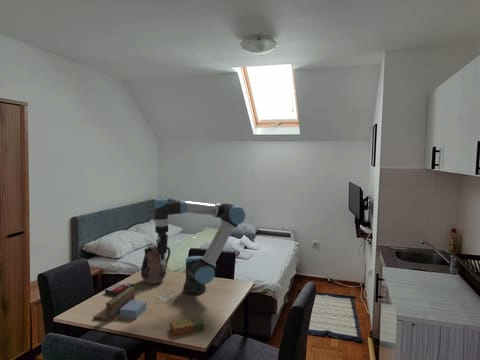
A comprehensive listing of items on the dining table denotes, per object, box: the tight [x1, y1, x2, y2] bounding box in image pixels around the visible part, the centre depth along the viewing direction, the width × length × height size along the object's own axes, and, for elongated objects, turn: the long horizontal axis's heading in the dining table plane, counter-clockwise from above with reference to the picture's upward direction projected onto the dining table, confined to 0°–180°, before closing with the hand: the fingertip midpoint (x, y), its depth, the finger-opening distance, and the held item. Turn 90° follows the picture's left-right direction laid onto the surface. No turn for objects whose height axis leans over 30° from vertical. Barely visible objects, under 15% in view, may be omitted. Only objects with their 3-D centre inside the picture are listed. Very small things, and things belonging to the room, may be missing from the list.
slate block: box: [119, 300, 147, 320], centre depth 187 cm, size 10×12×5 cm
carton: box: [169, 316, 205, 338], centre depth 169 cm, size 8×16×4 cm, turn 114°
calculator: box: [104, 281, 135, 297], centre depth 218 cm, size 11×4×15 cm
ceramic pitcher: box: [140, 245, 171, 285], centre depth 237 cm, size 18×21×25 cm
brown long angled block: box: [93, 286, 136, 323], centre depth 190 cm, size 11×24×10 cm, turn 168°
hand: (163, 264), depth 196 cm, fingers closed
